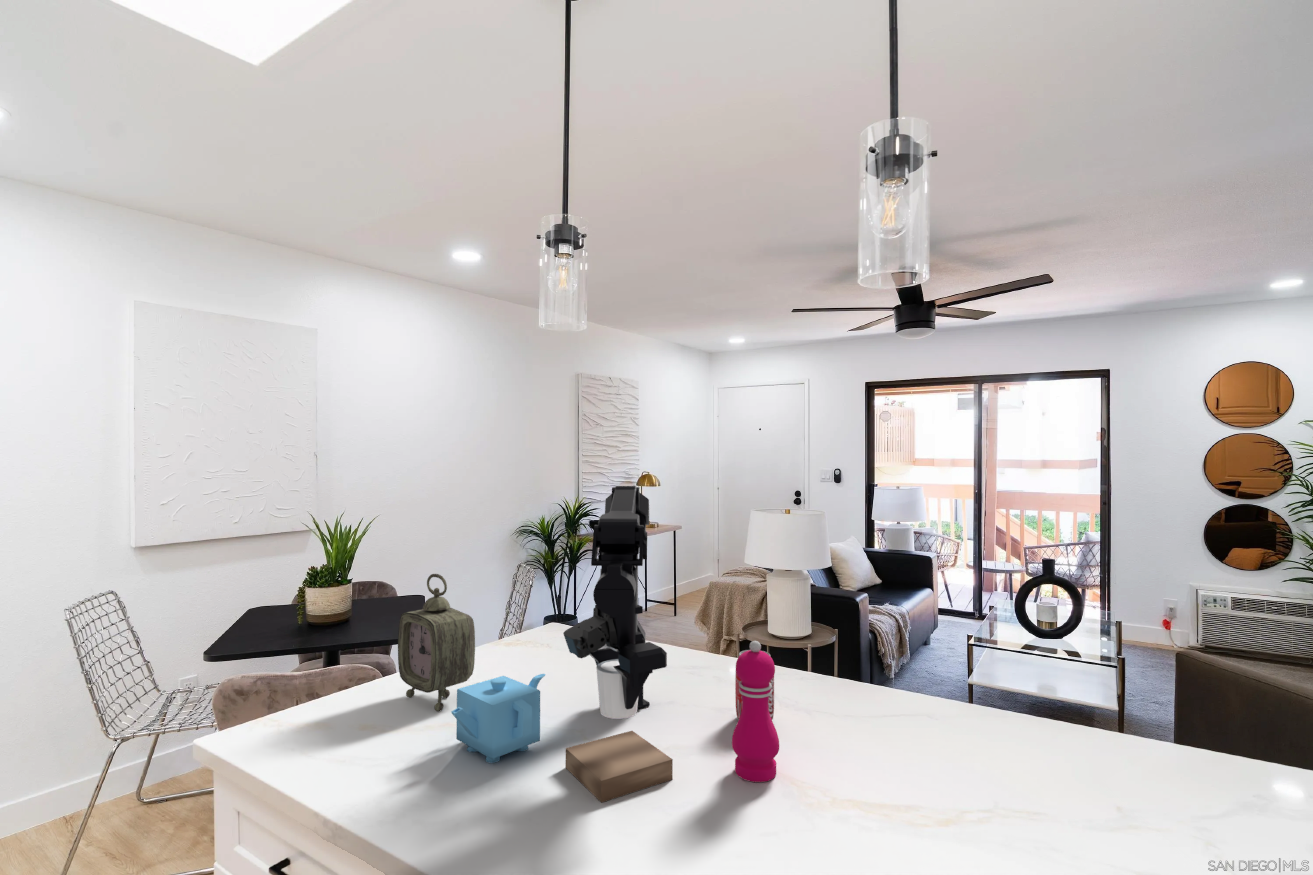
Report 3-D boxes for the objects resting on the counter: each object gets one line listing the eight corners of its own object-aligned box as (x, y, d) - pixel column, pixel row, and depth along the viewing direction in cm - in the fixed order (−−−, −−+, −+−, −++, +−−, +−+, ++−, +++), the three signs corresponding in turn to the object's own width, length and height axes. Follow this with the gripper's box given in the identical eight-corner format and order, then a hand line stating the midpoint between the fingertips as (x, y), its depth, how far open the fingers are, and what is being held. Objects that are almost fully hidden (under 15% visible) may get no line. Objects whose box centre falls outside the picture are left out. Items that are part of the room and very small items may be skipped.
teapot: (427, 750, 106) (428, 681, 106) (519, 718, 119) (519, 656, 119) (480, 784, 95) (481, 706, 95) (574, 744, 108) (575, 676, 108)
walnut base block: (565, 767, 100) (565, 747, 100) (632, 748, 106) (632, 730, 106) (601, 802, 90) (601, 780, 90) (672, 779, 96) (672, 759, 96)
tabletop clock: (397, 697, 129) (398, 572, 130) (438, 685, 136) (439, 566, 136) (435, 717, 119) (437, 581, 120) (477, 702, 126) (479, 575, 127)
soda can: (772, 713, 121) (772, 649, 122) (775, 729, 114) (775, 660, 115) (735, 711, 122) (734, 648, 122) (735, 727, 115) (735, 659, 115)
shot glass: (596, 703, 102) (596, 658, 102) (639, 701, 102) (639, 657, 102) (595, 721, 95) (596, 673, 95) (642, 719, 95) (642, 672, 96)
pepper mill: (782, 765, 101) (782, 636, 101) (775, 787, 94) (775, 649, 95) (737, 758, 103) (737, 632, 104) (727, 779, 96) (726, 645, 97)
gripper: (546, 594, 103) (545, 692, 102) (600, 619, 87) (599, 736, 86) (607, 586, 108) (607, 679, 108) (668, 608, 93) (668, 718, 92)
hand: (618, 701), depth 99 cm, fingers closed on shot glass, 6 cm apart
